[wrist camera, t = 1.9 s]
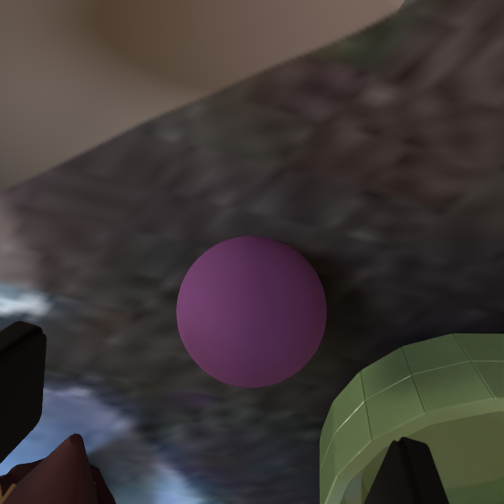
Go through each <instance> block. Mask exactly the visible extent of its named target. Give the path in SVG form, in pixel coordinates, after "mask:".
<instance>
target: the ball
mask: <svg viewBox="0 0 504 504" xmlns="http://www.w3.org/2000/svg"><path fill="white" fill-rule="evenodd" d="M326 317H327V304H326V298H325V293H324V289H323V286H322V284H321V281H320V279H319V277H318V275H317V273H316V272H315V270H314V269H313V267H312V266H311V264H310V263H309V262H308V261H307V260H306V259H305V258H304V257H303V256H302V255H301V254H300V253H299V252H298V251H296V250H295V249H293V248H292V247H290V246H289V245H287V244H285V243H282V242H280V241H278V240H275V239H272V238H267V237H262V236H242V237H236V238H232V239H229V240H226V241H223V242H221V243H219V244H217V245H215V246H213V247H212V248H210V249H209V250H207V251H206V252H205V253H204V254H203V255H201V256H200V257H199V258H198V259H197V260H196V261H195V263H194V264H193V265H192V266H191V268H190V269H189V271H188V273H187V274H186V276H185V278H184V280H183V282H182V285H181V288H180V291H179V295H178V300H177V323H178V329H179V332H180V336H181V339H182V341H183V344H184V346H185V348H186V349H187V351H188V353H189V354H190V356H191V357H192V358H193V360H194V361H195V362H196V363H197V364H198V365H199V366H200V367H201V368H202V369H203V370H204V371H205V372H207V373H208V374H209V375H211V376H212V377H214V378H216V379H218V380H220V381H222V382H224V383H227V384H230V385H234V386H238V387H245V388H258V387H265V386H269V385H274V384H276V383H279V382H282V381H284V380H286V379H288V378H289V377H291V376H292V375H294V374H295V373H297V372H298V371H299V370H301V369H302V368H303V367H304V366H305V365H306V364H307V363H308V361H309V360H310V359H311V358H312V356H313V355H314V354H315V352H316V350H317V349H318V347H319V344H320V342H321V340H322V337H323V334H324V330H325V327H326Z"/></svg>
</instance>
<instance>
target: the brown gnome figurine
mask: <svg viewBox="0 0 504 504" xmlns="http://www.w3.org/2000/svg"><path fill="white" fill-rule="evenodd" d="M0 504H116V502H115V499H114V497H113V495H112V494H111V492H110V490H109V489H108V487H107V485H106V484H105V481H104V479H103V477H102V475H101V473H100V471H99V469H98V468H95V467H92V466H89V462H88V459H87V455H86V451H85V447H84V442H83V439H82V437H81V436H80V435H79V434H73V435H71V436H70V437H69V438H67V439H66V440H65V441H64V442H63V443H62V444H61V445H59V446H58V447H57V448H56V449H55V450H54V451H53V452H52V453H51V454H50V455H48V456H47V457H46V458H44V459H41V460H38V461H35V462H32V463H26V464H19V465H16V466H15V467H13V468H12V469H11V470H10V471H9V472H8V473H7V474H6V475H3V476H0Z"/></svg>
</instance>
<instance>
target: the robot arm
mask: <svg viewBox="0 0 504 504" xmlns="http://www.w3.org/2000/svg"><path fill="white" fill-rule="evenodd" d="M46 342H47V338H46V335H45V334H43V331H42V328H41V327H39V326H36V325H32V324H29V323H26V322H22V321H17V322H15V323H13V324H11V325H10V326H8V327H7V328H5V329H4V330H2V331H0V463H1V462H2V461H3V460H4V459H5V458H6V457H7V456H8V455H9V454H10V453H11V452H12V451H13V450H14V449H15V448H16V447H17V445H18V444H19V443H20V442H21V441H22V440H23V439H24V438H25V437H26V436H27V435H28V434H29V433H30V432H31V431H32V430H33V429H34V427H35V426H36V425H37V423H38V422H39V420H40V417H41V414H42V402H43V387H44V372H45V357H46ZM364 504H449V501H448V498H447V495H446V493H445V490H444V487H443V484H442V482H441V479H440V476H439V473H438V470H437V468H436V465H435V462H434V459H433V457H432V454H431V451H430V448H429V446H428V445H427V444H426V443H423V442H420V441H417V440H413V439H410V438H407V437H401V438H400V439H399V441H396V440H393V441H392V442H391V444H390V446H389V448H388V451H387V453H386V455H385V457H384V460H383V462H382V464H381V466H380V468H379V471H378V473H377V475H376V477H375V480H374V482H373V484H372V486H371V488H370V491H369V493H368V495H367V497H366V500H365V502H364Z"/></svg>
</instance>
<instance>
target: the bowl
mask: <svg viewBox="0 0 504 504" xmlns="http://www.w3.org/2000/svg"><path fill="white" fill-rule="evenodd" d="M401 437H407V438H410V439H413V440H417V441H420V442H423V443H426V444H427V445H428V446H429V448H430V451H431V454H432V457H433V459H434V462H435V465H436V468H437V470H438V473H439V476H440V479H441V482H442V484H443V487H444V490H445V493H446V495H447V498H448V501H449V504H504V334H485V333H454V334H447V335H444V336H440V337H436V338H432V339H428V340H424V341H420V342H416V343H412V344H409V345H405V346H402V348H401V347H400V348H398V349H396V350H395V351H393V352H391V353H390V354H388V355H386V356H384V357H383V358H381V359H379V360H378V361H376V362H374V363H372V364H371V365H369V366H367V367H366V368H364V369H362V370H361V371H360V372H359V373H358V374H357V375H356V376H355V377H354V378H353V379H352V380H351V382H350V383H349V384H348V385H347V386H346V387H345V388H344V389H343V391H342V392H341V393H340V394H339V395H338V396H337V397H336V398H335V400H334V401H333V403H332V405H331V407H330V410H329V413H328V415H327V418H326V421H325V423H324V426H323V429H322V431H321V434H320V504H364V502H365V500H366V497H367V495H368V493H369V491H370V488H371V486H372V484H373V482H374V480H375V477H376V475H377V473H378V471H379V468H380V466H381V464H382V462H383V460H384V457H385V455H386V453H387V451H388V448H389V446H390V444H391V442H392V441H393V440H396V441H399V439H400V438H401Z"/></svg>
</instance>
